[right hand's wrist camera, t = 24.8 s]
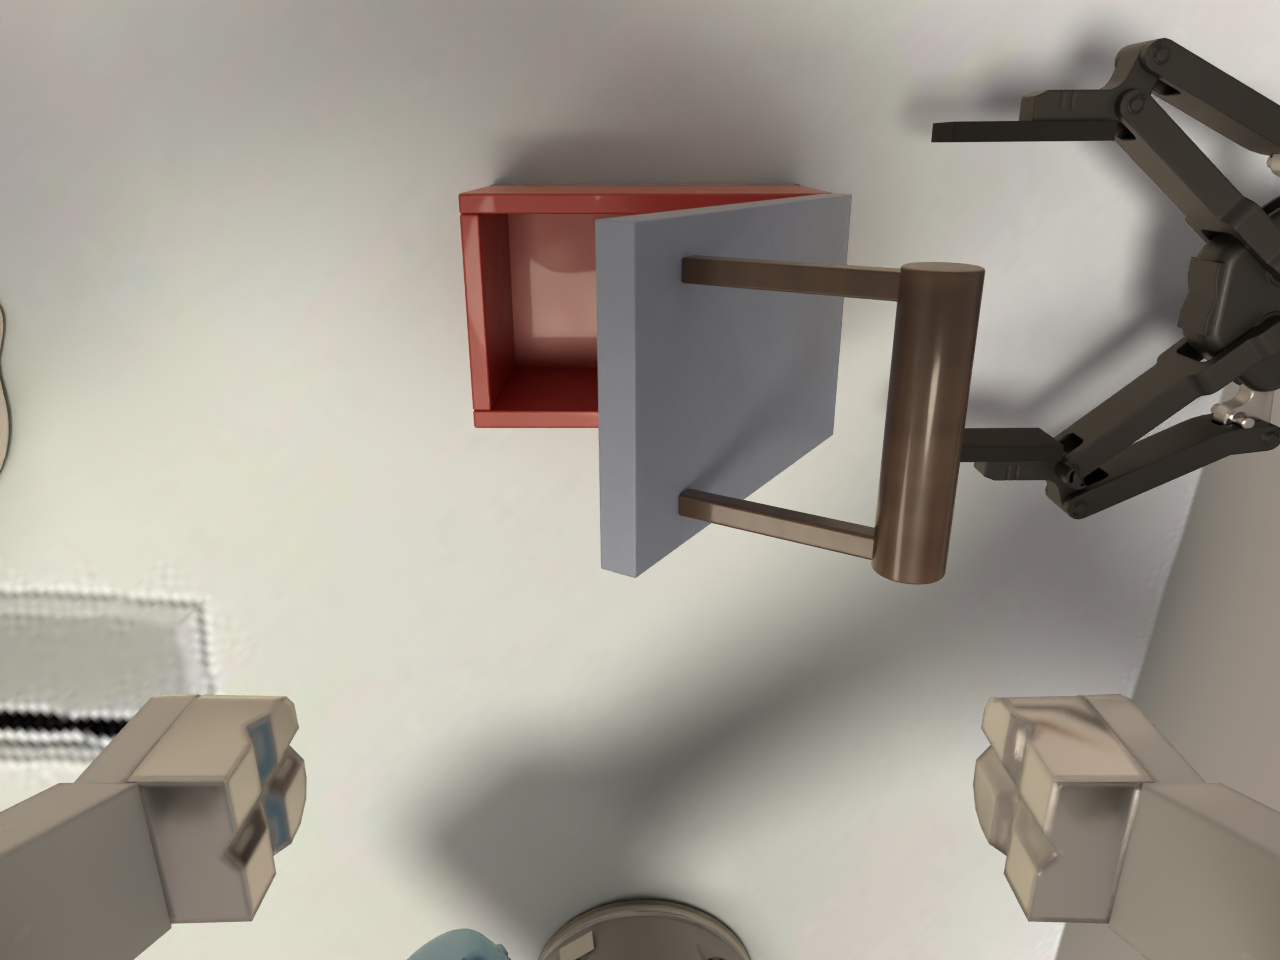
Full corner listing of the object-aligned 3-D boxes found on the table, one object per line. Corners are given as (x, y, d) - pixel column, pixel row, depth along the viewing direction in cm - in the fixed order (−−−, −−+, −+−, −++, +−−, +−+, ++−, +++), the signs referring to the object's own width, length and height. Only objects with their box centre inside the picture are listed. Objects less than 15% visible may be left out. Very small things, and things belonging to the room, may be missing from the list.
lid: (600, 569, 26) (910, 656, 21) (594, 219, 22) (961, 237, 18) (806, 430, 39) (1028, 466, 34) (822, 193, 35) (1071, 200, 31)
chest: (503, 379, 47) (473, 428, 39) (492, 184, 44) (457, 193, 36) (785, 379, 47) (817, 428, 39) (797, 184, 44) (834, 193, 35)
